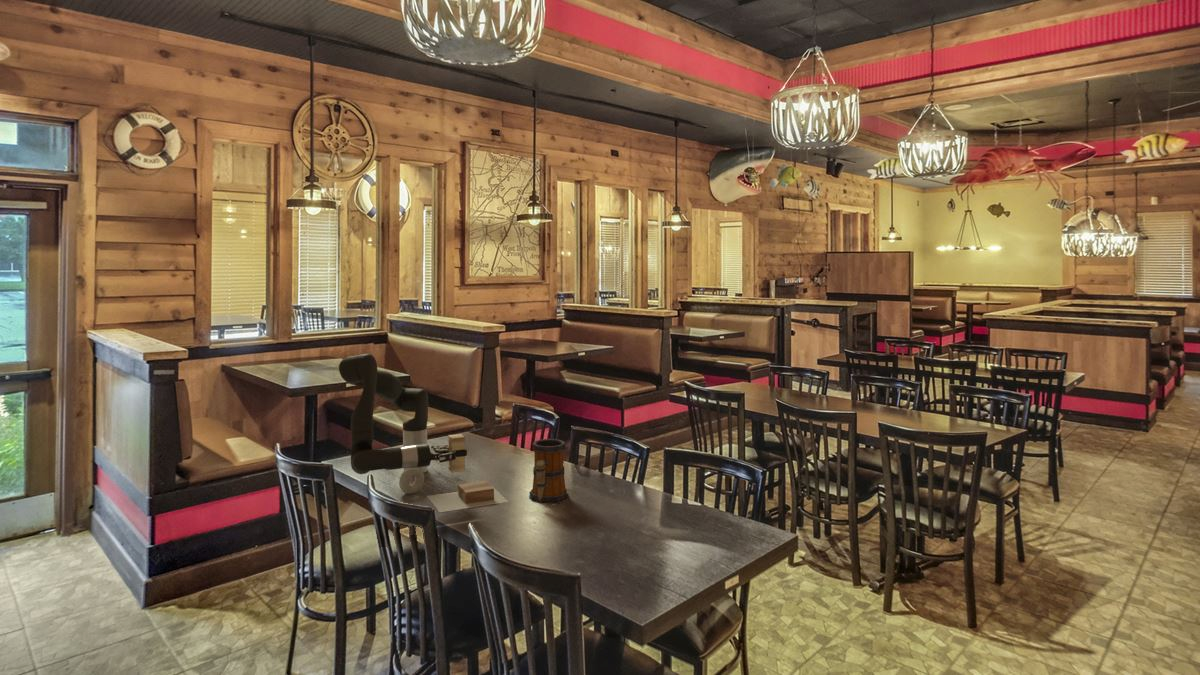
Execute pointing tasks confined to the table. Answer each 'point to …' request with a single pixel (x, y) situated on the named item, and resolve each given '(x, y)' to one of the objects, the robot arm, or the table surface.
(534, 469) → the mug
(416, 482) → the donut
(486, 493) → the walnut base
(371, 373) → the robot arm
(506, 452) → the table surface
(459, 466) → the maple pillar
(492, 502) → the build mat
